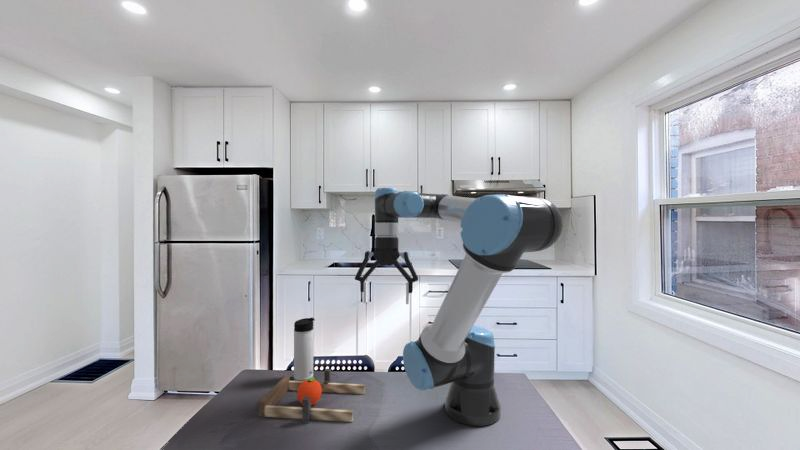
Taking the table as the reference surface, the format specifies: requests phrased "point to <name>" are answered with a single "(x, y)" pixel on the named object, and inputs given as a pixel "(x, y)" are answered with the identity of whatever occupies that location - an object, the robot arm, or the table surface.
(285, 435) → the table surface
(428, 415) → the table surface
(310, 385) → the clementine
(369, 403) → the table surface
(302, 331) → the travel mug
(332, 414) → the lane
